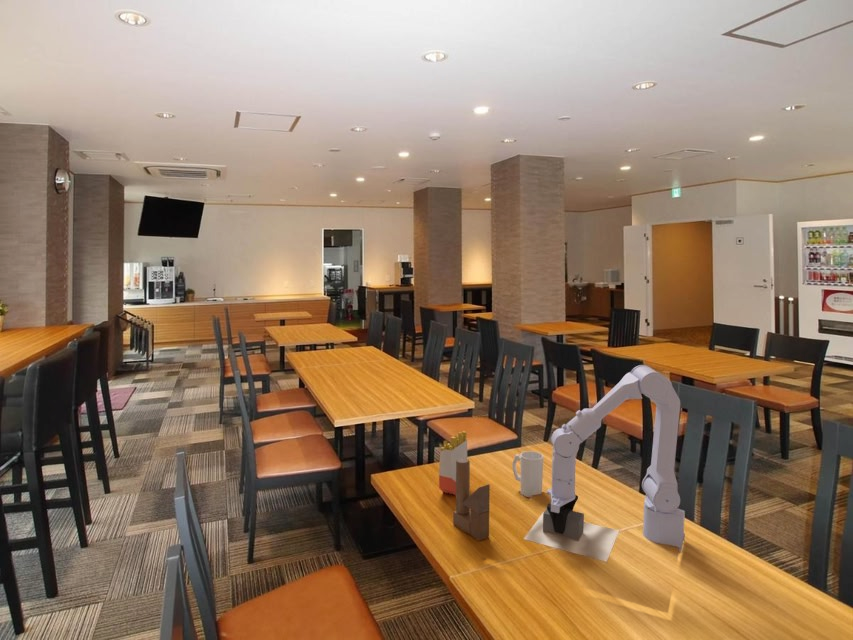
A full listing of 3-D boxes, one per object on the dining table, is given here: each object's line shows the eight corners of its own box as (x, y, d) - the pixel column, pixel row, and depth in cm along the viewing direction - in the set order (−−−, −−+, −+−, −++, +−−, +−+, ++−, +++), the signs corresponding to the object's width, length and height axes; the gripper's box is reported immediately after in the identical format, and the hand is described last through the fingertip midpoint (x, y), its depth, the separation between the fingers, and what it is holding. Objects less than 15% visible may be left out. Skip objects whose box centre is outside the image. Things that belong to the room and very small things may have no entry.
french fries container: (438, 495, 156) (437, 437, 154) (454, 482, 166) (454, 427, 164) (451, 498, 154) (451, 440, 152) (467, 485, 163) (467, 429, 161)
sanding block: (583, 532, 133) (584, 513, 132) (578, 541, 128) (579, 522, 128) (548, 523, 137) (549, 505, 137) (542, 531, 133) (543, 513, 132)
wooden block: (478, 541, 131) (479, 473, 129) (452, 524, 139) (452, 459, 137) (489, 537, 133) (490, 469, 131) (463, 520, 142) (463, 456, 139)
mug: (546, 493, 158) (547, 454, 156) (535, 500, 153) (535, 461, 151) (518, 483, 164) (519, 446, 163) (506, 490, 159) (506, 452, 158)
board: (619, 534, 134) (619, 530, 134) (606, 565, 120) (606, 561, 120) (543, 515, 144) (543, 512, 144) (523, 542, 130) (523, 539, 130)
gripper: (556, 463, 139) (554, 511, 141) (539, 483, 127) (537, 536, 129) (582, 468, 136) (581, 518, 138) (567, 490, 124) (566, 544, 125)
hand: (562, 527), depth 133 cm, fingers closed on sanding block, 5 cm apart
